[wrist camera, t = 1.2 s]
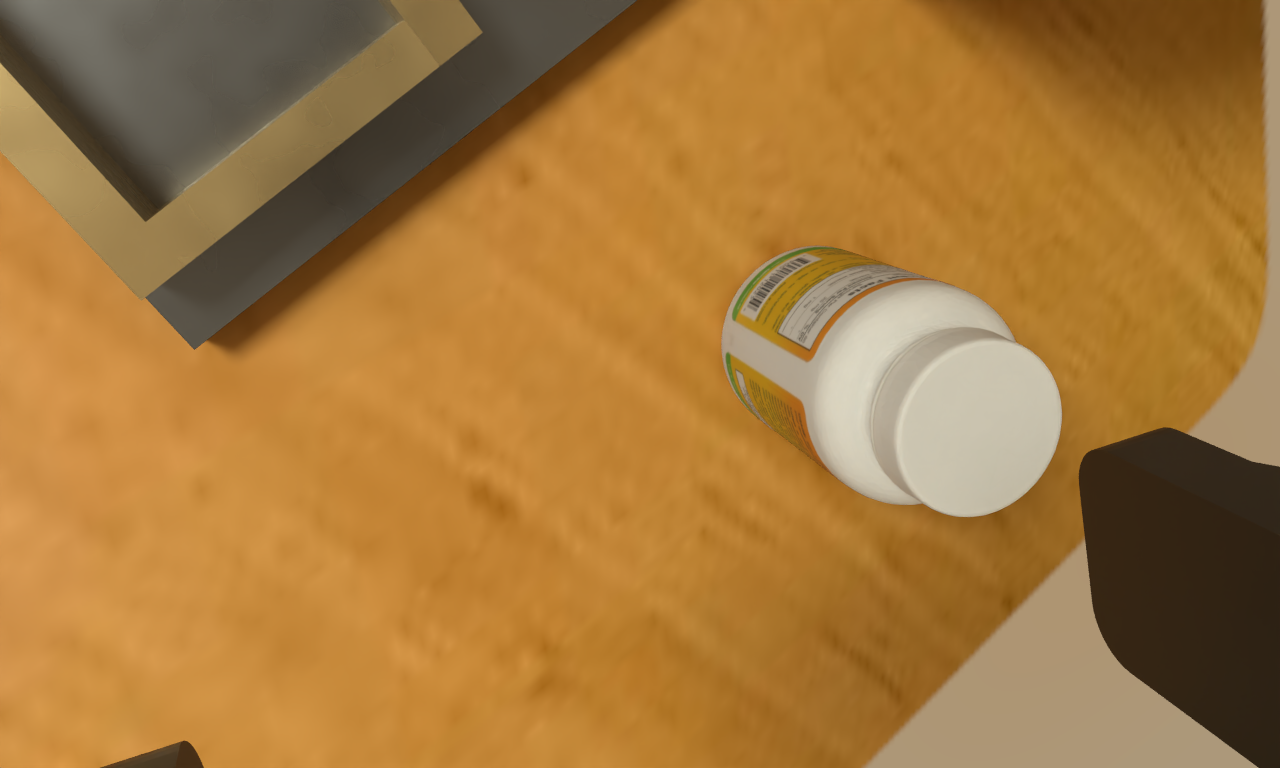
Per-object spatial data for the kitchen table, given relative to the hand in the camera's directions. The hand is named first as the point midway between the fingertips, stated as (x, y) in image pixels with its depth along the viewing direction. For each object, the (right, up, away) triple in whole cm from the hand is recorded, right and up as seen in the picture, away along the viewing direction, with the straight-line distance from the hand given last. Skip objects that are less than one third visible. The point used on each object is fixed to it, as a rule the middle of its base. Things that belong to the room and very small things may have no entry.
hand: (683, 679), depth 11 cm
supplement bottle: (+4, +4, +25) cm, 25 cm away
